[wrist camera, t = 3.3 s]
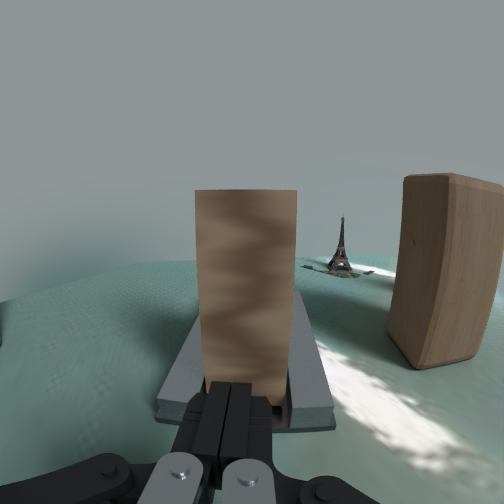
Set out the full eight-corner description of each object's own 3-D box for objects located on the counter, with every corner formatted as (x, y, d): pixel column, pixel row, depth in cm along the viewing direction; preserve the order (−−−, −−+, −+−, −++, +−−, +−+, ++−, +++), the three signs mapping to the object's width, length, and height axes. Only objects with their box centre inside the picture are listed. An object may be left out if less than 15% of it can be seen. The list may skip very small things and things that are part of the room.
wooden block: (382, 331, 33) (400, 174, 28) (440, 325, 32) (460, 183, 28) (413, 374, 23) (448, 171, 19) (477, 360, 22) (511, 186, 18)
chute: (156, 421, 18) (149, 396, 18) (209, 306, 42) (208, 288, 41) (335, 430, 18) (342, 405, 17) (302, 308, 41) (303, 290, 40)
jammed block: (208, 402, 20) (195, 190, 16) (218, 362, 26) (213, 189, 22) (284, 405, 19) (296, 190, 16) (281, 363, 25) (288, 190, 22)
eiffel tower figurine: (298, 268, 64) (300, 210, 61) (323, 261, 71) (325, 209, 68) (355, 283, 53) (361, 217, 50) (375, 273, 60) (380, 215, 57)
